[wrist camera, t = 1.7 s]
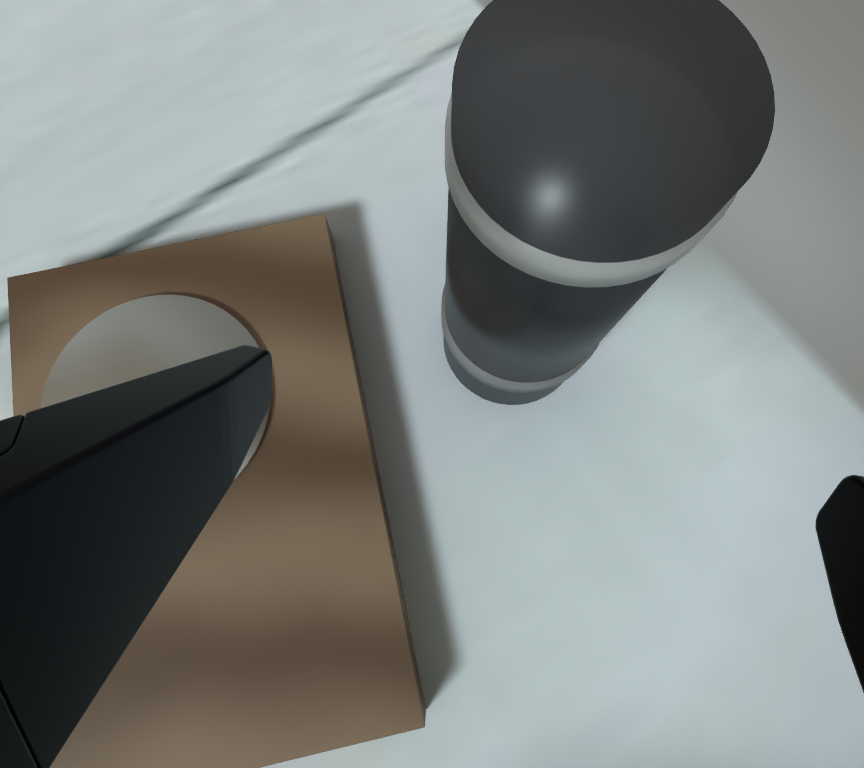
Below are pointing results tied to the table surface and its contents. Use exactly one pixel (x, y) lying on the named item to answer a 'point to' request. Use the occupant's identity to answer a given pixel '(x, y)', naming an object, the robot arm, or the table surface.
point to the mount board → (240, 508)
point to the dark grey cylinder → (585, 172)
